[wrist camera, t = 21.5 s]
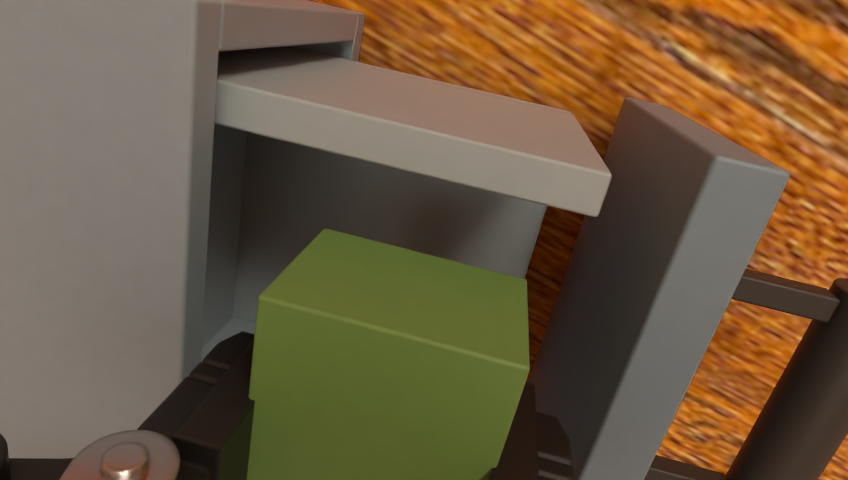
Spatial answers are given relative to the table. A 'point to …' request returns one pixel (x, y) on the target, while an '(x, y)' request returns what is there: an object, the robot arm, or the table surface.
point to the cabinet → (115, 199)
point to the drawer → (530, 241)
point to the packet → (385, 365)
